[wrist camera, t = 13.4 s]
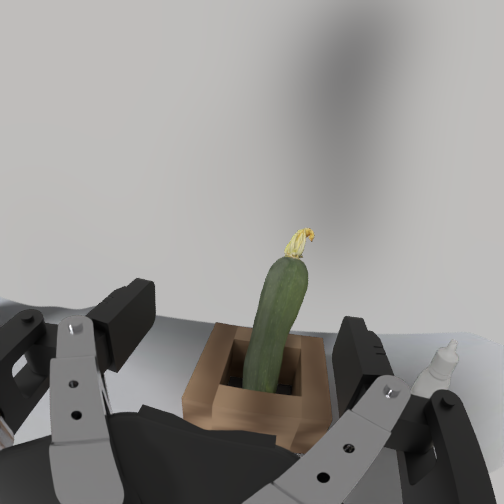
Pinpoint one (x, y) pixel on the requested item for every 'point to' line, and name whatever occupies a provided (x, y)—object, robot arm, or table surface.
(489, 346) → the table surface
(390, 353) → the table surface
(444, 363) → the eye dropper bottle
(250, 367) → the vegetable
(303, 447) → the socket
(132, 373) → the table surface
